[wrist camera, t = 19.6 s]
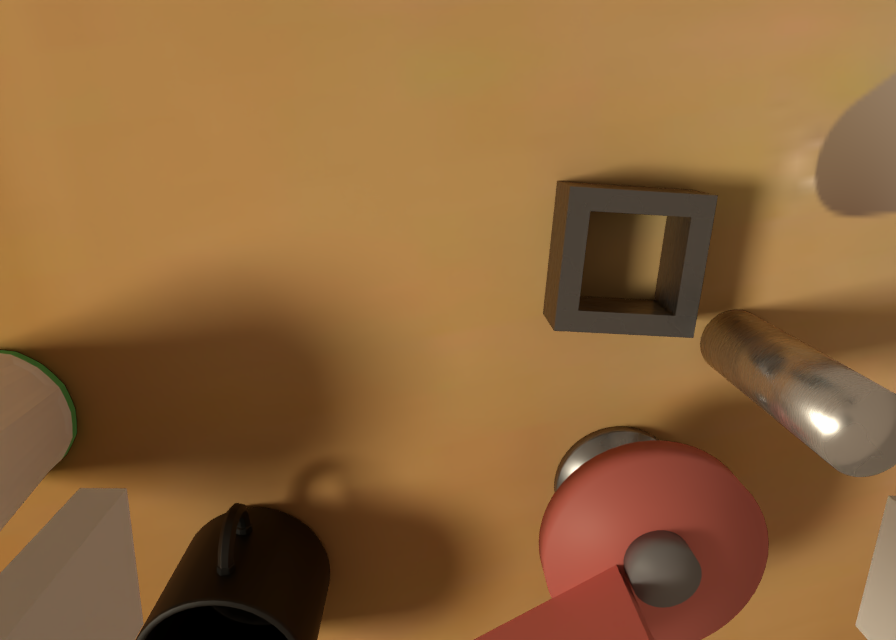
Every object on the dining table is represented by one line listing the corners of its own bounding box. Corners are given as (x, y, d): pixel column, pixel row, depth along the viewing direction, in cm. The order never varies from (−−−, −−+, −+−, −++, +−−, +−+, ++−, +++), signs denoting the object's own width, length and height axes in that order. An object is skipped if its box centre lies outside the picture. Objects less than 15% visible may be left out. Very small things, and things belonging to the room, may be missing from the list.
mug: (329, 469, 42) (304, 557, 33) (332, 626, 45) (310, 743, 37) (178, 467, 42) (113, 556, 33) (192, 626, 45) (137, 745, 36)
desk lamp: (392, 567, 37) (384, 672, 30) (695, 401, 35) (765, 471, 28) (498, 710, 40) (514, 836, 33) (784, 565, 38) (867, 666, 31)
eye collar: (557, 181, 38) (570, 186, 34) (692, 189, 38) (717, 195, 35) (542, 313, 40) (554, 330, 36) (670, 320, 40) (693, 337, 37)
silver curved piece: (561, 423, 42) (581, 468, 36) (685, 429, 42) (724, 473, 37) (548, 534, 44) (565, 591, 38) (666, 538, 44) (700, 596, 39)
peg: (706, 307, 40) (834, 388, 27) (770, 311, 40) (927, 393, 28) (695, 370, 41) (813, 474, 29) (758, 373, 41) (903, 478, 29)
